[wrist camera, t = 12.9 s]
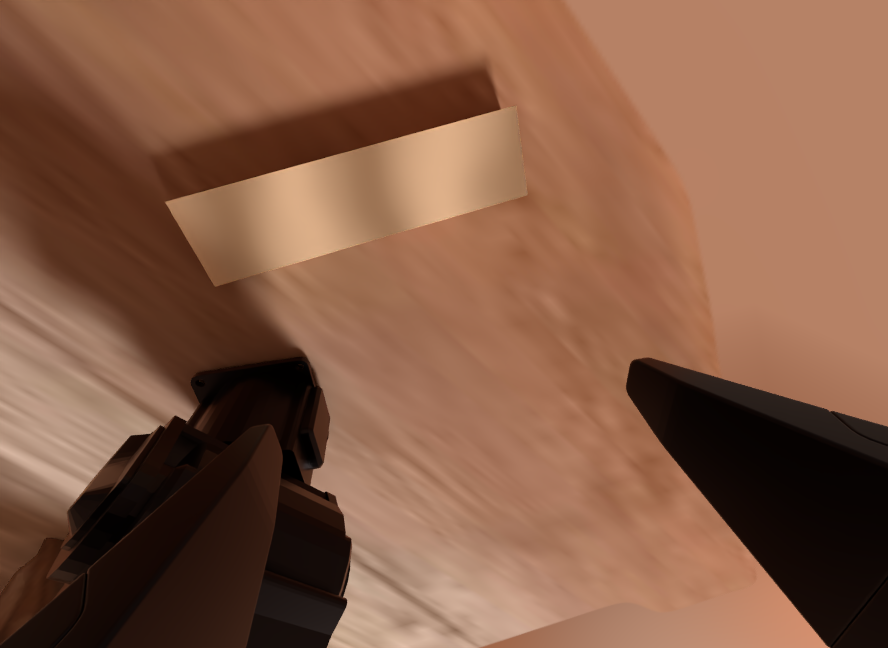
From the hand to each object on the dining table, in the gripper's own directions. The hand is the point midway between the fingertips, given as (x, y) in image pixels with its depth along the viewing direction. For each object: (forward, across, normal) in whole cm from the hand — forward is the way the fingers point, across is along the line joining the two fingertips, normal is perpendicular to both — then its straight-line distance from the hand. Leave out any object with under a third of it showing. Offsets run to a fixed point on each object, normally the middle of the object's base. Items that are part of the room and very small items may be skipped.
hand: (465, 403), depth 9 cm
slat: (+13, +2, -4) cm, 14 cm away
